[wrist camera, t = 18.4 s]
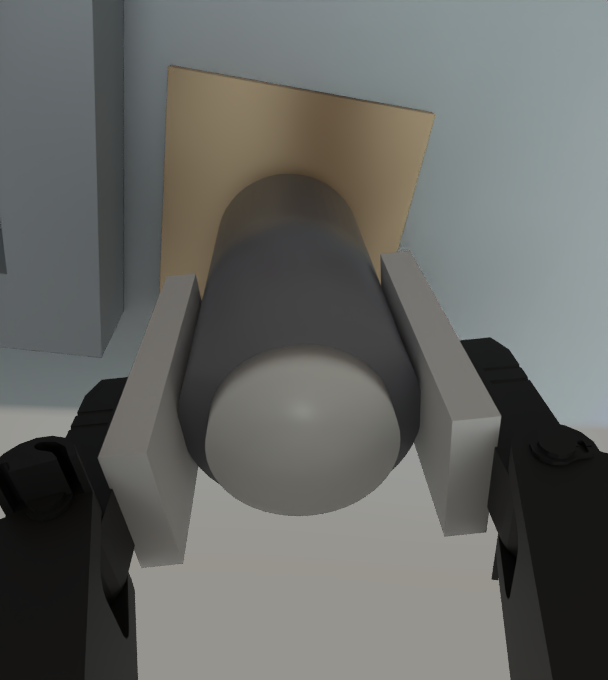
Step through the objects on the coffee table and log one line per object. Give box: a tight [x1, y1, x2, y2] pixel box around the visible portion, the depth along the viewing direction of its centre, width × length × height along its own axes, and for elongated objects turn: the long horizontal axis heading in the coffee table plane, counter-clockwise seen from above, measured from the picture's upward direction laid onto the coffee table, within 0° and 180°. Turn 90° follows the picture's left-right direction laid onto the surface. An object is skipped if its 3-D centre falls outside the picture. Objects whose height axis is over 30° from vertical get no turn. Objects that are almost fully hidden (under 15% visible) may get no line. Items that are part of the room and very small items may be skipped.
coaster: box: [159, 65, 435, 300], centre depth 21 cm, size 9×9×1 cm
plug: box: [178, 174, 421, 516], centre depth 14 cm, size 5×5×10 cm
